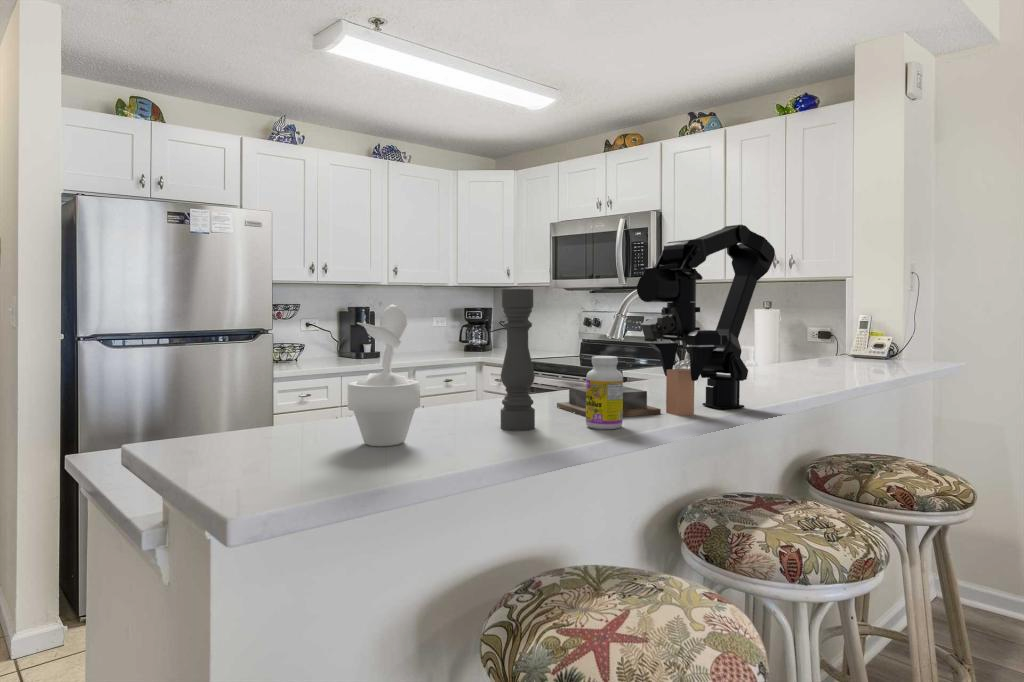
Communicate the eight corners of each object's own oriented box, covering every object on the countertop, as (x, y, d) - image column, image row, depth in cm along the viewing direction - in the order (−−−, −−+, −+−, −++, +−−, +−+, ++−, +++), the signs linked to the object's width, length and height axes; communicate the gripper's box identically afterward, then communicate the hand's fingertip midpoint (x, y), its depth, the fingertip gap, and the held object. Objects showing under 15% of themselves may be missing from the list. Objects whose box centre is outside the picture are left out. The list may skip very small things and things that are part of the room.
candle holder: (540, 429, 117) (540, 289, 116) (508, 431, 115) (507, 288, 114) (526, 423, 123) (526, 290, 122) (495, 425, 121) (495, 289, 120)
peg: (682, 411, 138) (682, 368, 137) (694, 414, 134) (694, 370, 133) (666, 412, 136) (666, 369, 136) (677, 415, 132) (677, 371, 132)
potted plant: (379, 433, 113) (377, 288, 112) (434, 440, 108) (433, 287, 107) (326, 447, 102) (323, 286, 101) (385, 455, 97) (383, 285, 96)
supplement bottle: (579, 425, 121) (579, 356, 121) (609, 422, 124) (609, 355, 124) (598, 431, 115) (599, 358, 115) (630, 428, 118) (630, 357, 118)
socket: (620, 403, 150) (620, 383, 149) (660, 413, 135) (660, 391, 134) (556, 407, 144) (556, 386, 144) (590, 418, 129) (591, 395, 129)
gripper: (623, 302, 140) (623, 375, 141) (674, 302, 122) (674, 385, 123) (667, 302, 144) (667, 373, 145) (723, 301, 126) (722, 382, 127)
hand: (680, 378), depth 135 cm, fingers open, 9 cm apart
